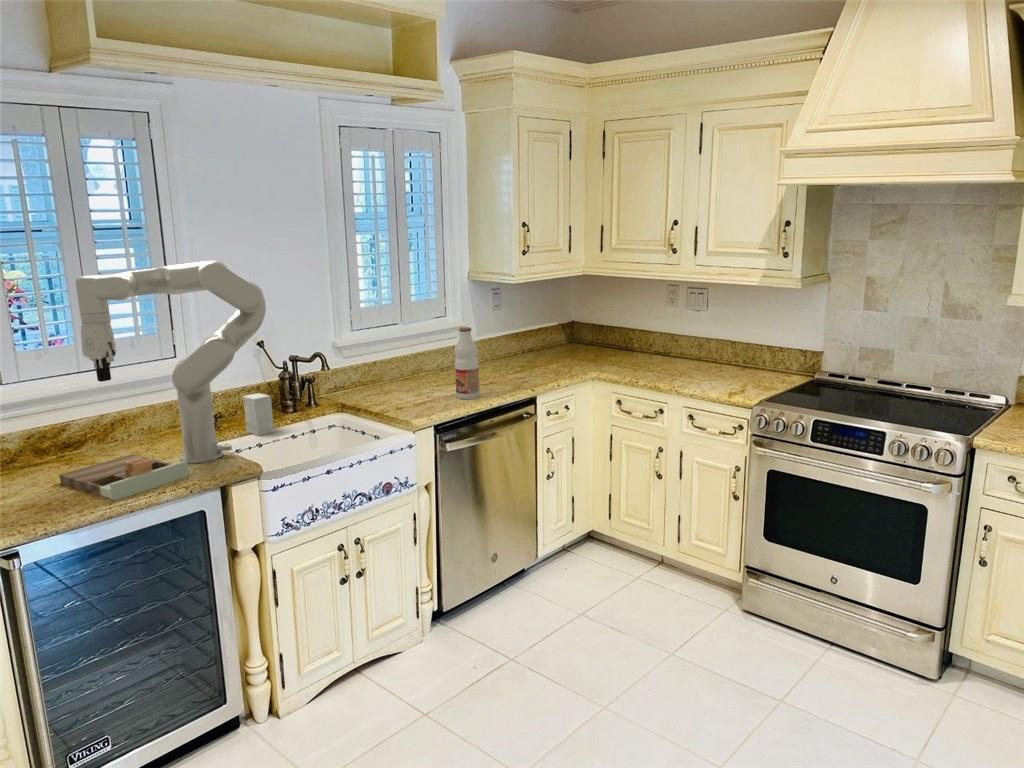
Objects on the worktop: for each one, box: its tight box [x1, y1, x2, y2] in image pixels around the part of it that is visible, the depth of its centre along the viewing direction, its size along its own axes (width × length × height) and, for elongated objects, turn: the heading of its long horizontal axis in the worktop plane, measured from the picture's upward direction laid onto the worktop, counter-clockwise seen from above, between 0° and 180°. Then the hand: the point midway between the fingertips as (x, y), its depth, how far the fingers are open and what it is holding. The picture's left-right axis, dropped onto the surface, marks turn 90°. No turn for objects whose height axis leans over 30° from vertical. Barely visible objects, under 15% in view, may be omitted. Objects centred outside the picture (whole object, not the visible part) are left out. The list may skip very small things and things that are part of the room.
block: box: [124, 456, 152, 478], centre depth 213 cm, size 5×5×5 cm
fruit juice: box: [454, 326, 480, 400], centre depth 306 cm, size 9×9×28 cm
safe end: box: [100, 461, 190, 501], centre depth 214 cm, size 7×22×4 cm, turn 147°
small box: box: [242, 392, 275, 437], centre depth 265 cm, size 8×6×13 cm
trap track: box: [59, 453, 172, 496], centre depth 222 cm, size 21×22×2 cm
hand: (104, 380), depth 226 cm, fingers closed
